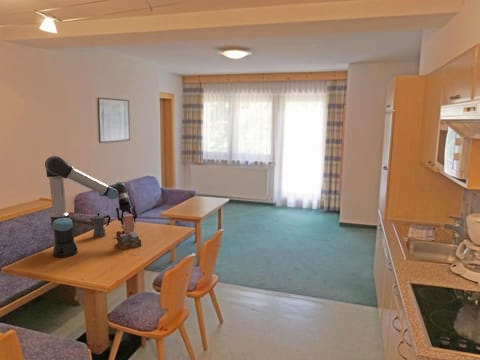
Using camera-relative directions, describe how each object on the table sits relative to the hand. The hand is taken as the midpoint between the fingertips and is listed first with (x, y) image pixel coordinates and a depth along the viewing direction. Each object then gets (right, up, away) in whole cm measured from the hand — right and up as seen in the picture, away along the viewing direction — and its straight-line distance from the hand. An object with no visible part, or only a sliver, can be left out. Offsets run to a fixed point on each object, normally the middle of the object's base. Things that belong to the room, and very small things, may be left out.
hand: (129, 227), depth 256 cm
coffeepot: (-31, -10, +28) cm, 43 cm away
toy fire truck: (-12, -10, +28) cm, 32 cm away
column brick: (-2, -3, +4) cm, 5 cm away
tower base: (-2, -13, +5) cm, 14 cm away
